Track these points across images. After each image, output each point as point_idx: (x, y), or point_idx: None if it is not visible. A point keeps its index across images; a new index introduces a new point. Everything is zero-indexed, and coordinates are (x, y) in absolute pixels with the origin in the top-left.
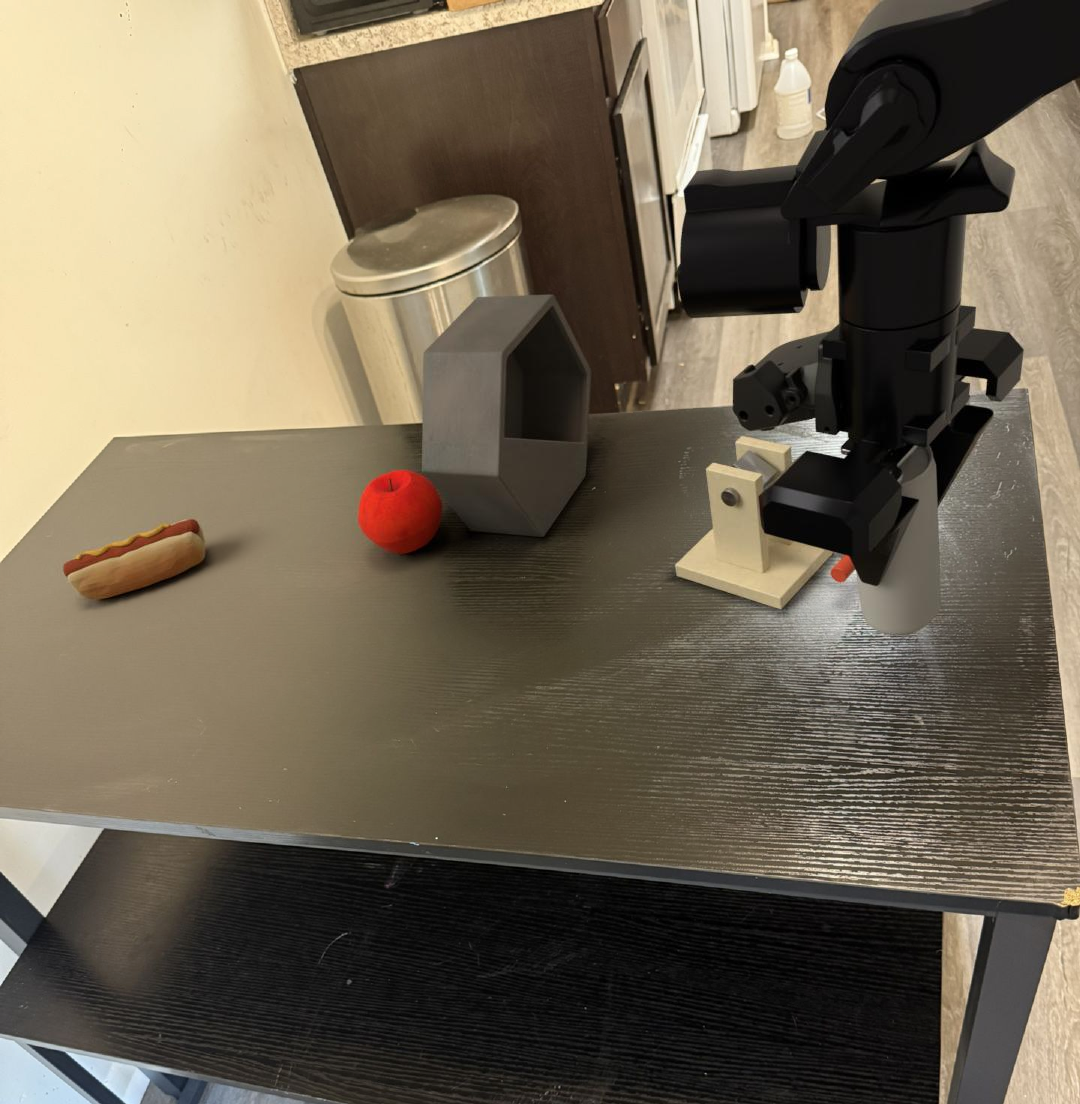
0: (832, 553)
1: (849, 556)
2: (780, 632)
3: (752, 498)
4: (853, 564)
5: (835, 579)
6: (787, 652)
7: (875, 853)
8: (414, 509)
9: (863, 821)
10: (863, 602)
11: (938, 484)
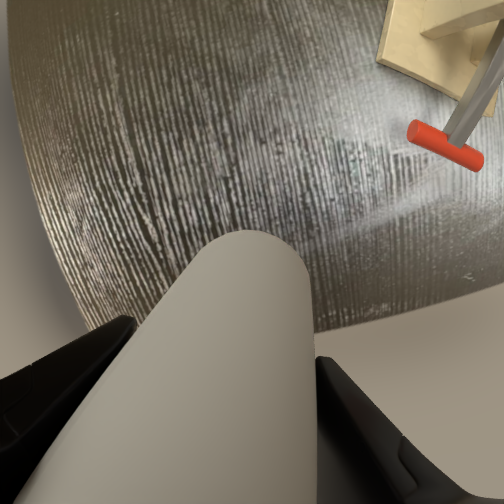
0: None
1: (64, 346)
2: (336, 67)
3: (486, 1)
4: (86, 335)
5: (409, 126)
6: (302, 83)
7: (74, 249)
8: None
9: (95, 232)
10: (194, 260)
11: (318, 500)
